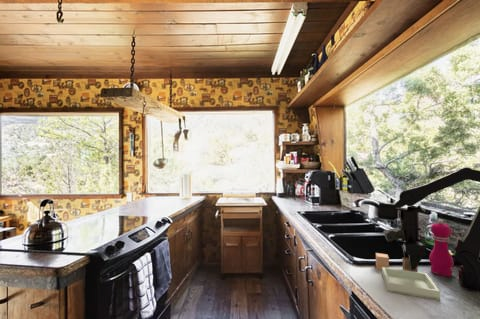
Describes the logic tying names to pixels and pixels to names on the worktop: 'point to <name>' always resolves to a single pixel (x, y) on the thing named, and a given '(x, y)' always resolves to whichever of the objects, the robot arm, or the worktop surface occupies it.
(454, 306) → the worktop surface
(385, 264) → the peach block
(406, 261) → the walnut block
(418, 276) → the tray
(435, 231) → the pepper mill
